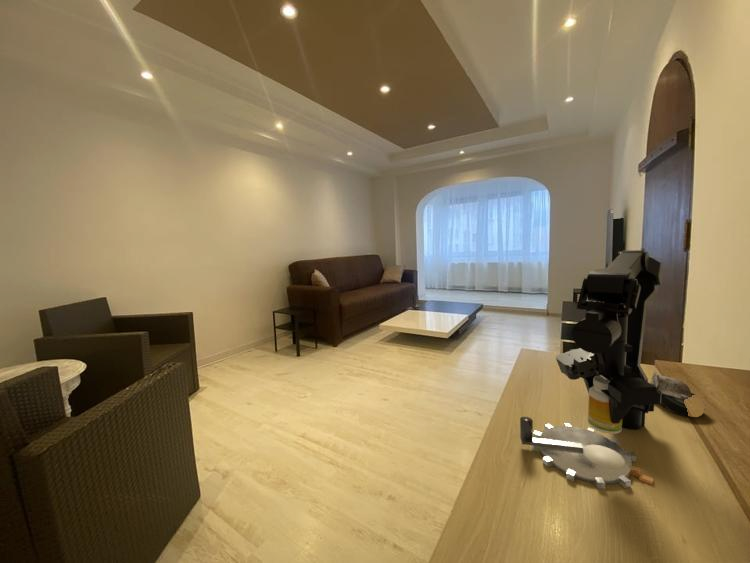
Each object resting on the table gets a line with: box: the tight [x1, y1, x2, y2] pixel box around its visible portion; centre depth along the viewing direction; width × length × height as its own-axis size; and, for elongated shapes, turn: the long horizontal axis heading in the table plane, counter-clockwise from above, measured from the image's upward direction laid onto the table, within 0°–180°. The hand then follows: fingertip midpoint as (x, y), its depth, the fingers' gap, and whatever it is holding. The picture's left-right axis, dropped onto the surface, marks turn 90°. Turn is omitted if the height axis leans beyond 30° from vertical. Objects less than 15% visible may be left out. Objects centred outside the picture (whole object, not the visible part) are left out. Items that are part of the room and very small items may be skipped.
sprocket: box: [519, 416, 641, 490], centre depth 65 cm, size 18×20×6 cm
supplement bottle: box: [587, 376, 623, 435], centre depth 60 cm, size 5×5×10 cm
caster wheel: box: [649, 369, 696, 418], centre depth 81 cm, size 7×11×10 cm
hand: (604, 414), depth 61 cm, fingers closed on supplement bottle, 5 cm apart
